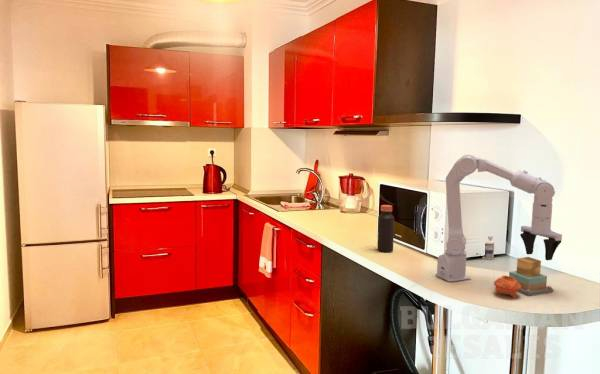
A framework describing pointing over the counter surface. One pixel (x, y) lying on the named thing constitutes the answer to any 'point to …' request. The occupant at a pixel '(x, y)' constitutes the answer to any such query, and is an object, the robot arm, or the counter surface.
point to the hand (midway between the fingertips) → (538, 256)
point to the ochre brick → (528, 266)
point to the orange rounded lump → (507, 285)
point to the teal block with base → (531, 284)
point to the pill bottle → (489, 249)
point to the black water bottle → (385, 229)
